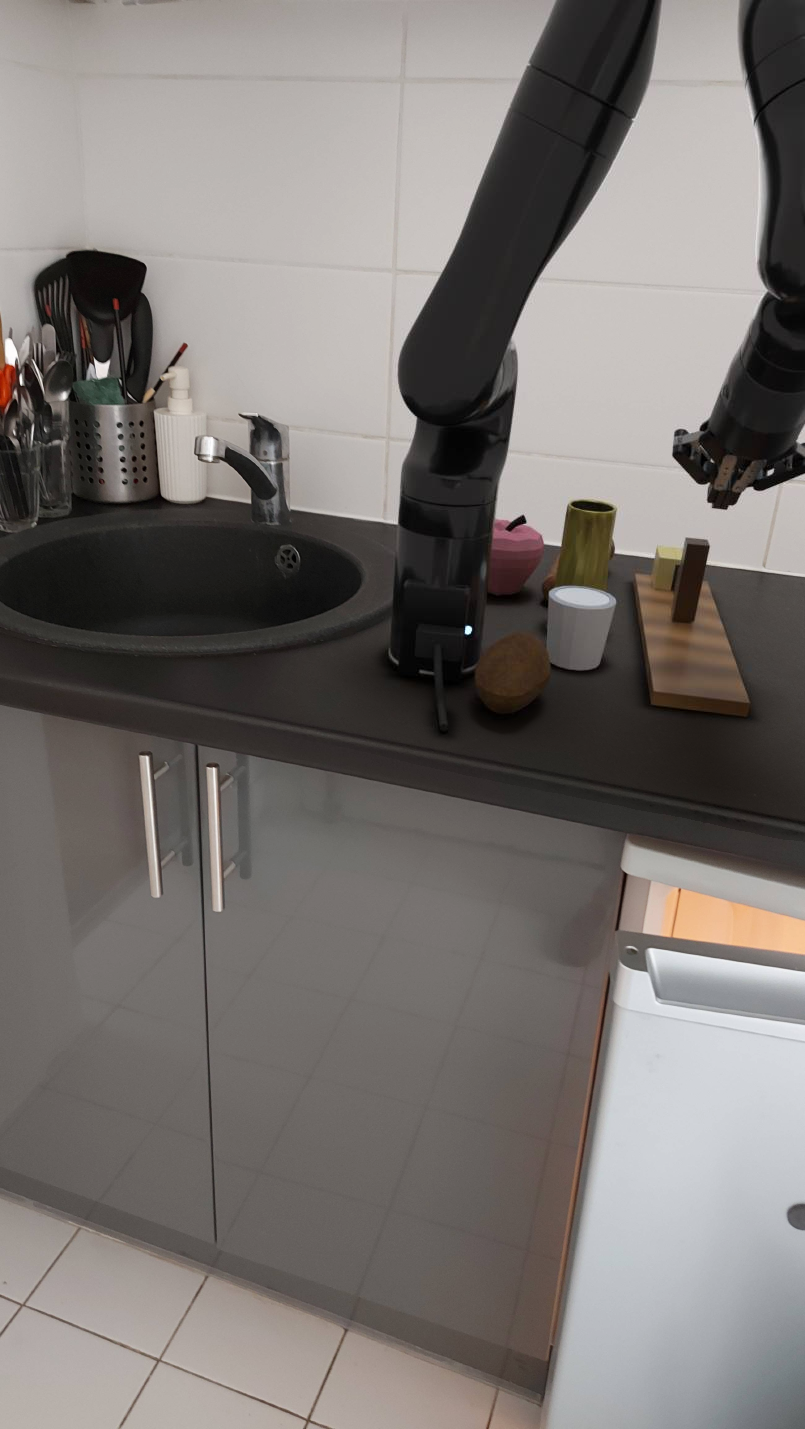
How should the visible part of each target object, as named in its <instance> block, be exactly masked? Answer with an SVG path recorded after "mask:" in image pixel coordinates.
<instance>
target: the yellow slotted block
mask: <svg viewBox="0 0 805 1429" xmlns="http://www.w3.org/2000/svg"><path fill="white" fill-rule="evenodd" d="M683 548H684V547H683ZM683 548H682V547H673V546H664V545H656V548H655V553H654V559H653V564H652V571H651V574H650V575H651V576H652V581H653V586H654V589H660V590H669V591H670V590H671V586H672V581H673V575H674V570H675V565H680V563H681V558H682V553H683Z"/></svg>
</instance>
